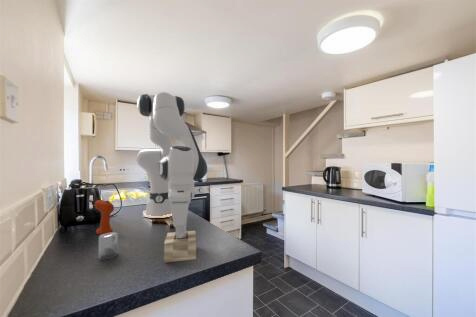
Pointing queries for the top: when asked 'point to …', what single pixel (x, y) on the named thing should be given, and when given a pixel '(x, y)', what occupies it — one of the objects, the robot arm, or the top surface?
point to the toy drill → (104, 215)
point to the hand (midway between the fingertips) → (181, 232)
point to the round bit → (108, 246)
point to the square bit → (183, 233)
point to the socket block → (180, 247)
